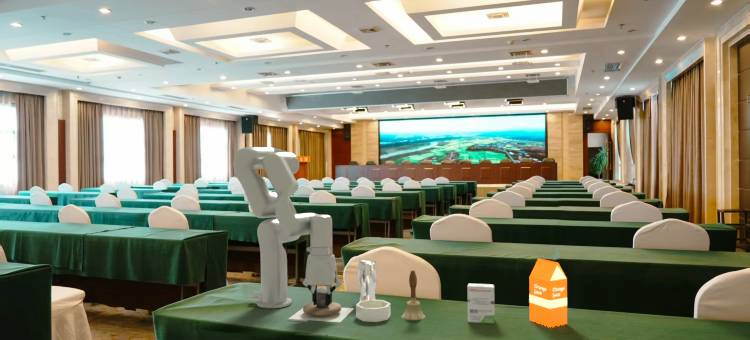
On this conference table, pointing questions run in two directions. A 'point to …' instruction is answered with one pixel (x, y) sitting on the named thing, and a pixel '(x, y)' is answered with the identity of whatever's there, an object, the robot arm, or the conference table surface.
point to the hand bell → (413, 302)
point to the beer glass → (367, 279)
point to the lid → (321, 306)
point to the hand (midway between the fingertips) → (322, 304)
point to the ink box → (481, 303)
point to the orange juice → (548, 294)
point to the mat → (321, 316)
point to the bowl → (373, 310)
